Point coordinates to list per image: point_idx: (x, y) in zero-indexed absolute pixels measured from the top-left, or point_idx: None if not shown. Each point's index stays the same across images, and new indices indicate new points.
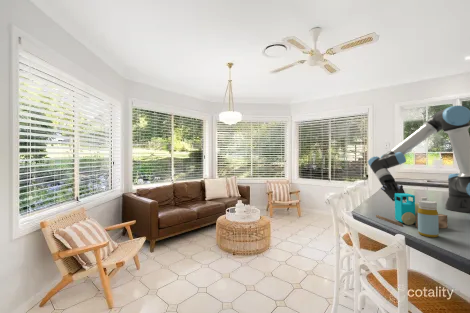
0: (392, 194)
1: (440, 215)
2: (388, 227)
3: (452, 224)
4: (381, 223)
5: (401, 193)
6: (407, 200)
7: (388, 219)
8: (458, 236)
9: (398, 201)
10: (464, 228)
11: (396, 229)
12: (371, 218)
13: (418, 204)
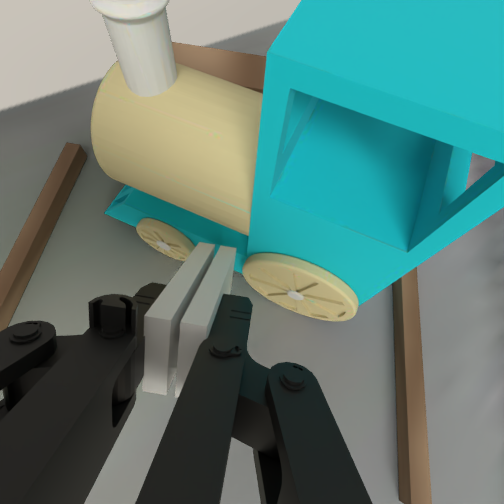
0: (329, 492)
1: (190, 50)
2: (499, 218)
3: (52, 138)
4: (493, 301)
5: (414, 92)
6: (284, 151)
7: (419, 315)
8: (268, 42)
9: (468, 154)
10: (94, 83)
11: (474, 179)
12: (495, 469)
13: (235, 89)
